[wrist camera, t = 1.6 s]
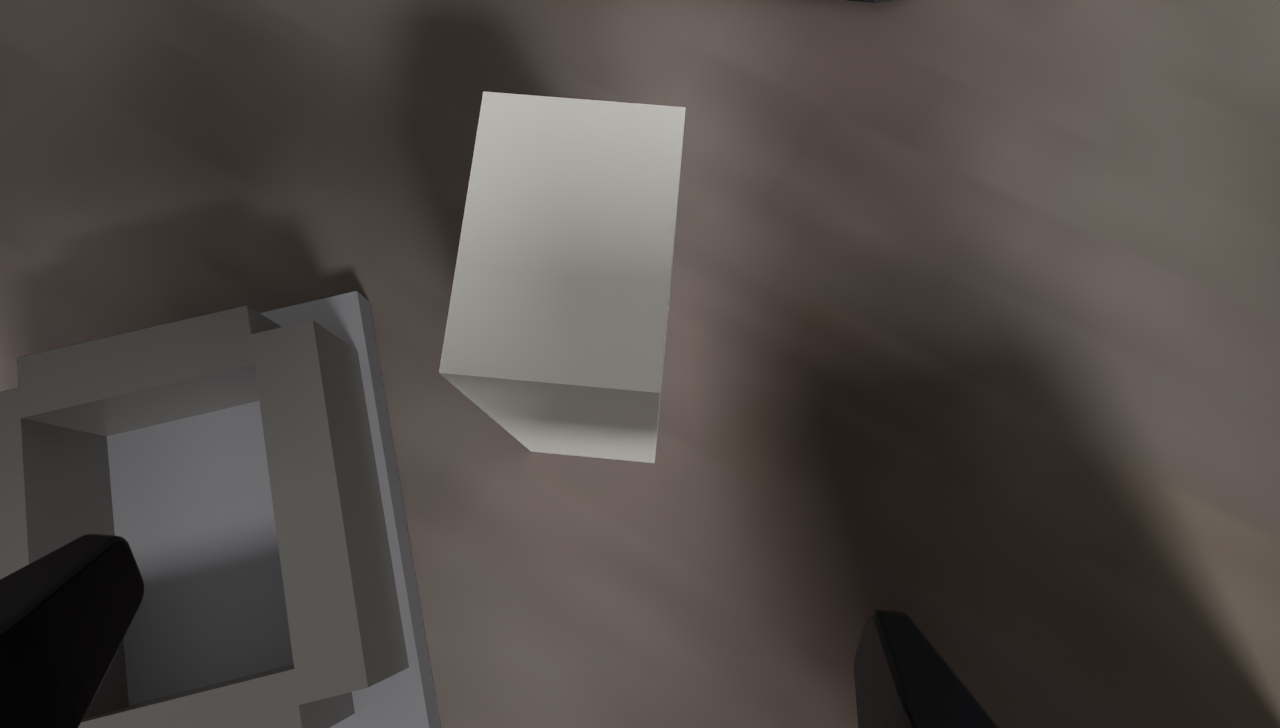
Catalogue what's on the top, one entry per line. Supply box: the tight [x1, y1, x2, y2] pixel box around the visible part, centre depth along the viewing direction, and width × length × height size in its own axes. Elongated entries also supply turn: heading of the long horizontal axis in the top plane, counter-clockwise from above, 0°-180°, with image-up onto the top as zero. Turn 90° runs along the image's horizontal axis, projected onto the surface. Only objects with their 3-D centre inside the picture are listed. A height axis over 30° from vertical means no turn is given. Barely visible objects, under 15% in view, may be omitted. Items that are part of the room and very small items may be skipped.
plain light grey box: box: [439, 91, 686, 463], centre depth 18 cm, size 5×4×10 cm
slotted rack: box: [0, 291, 441, 728], centre depth 20 cm, size 12×9×4 cm
